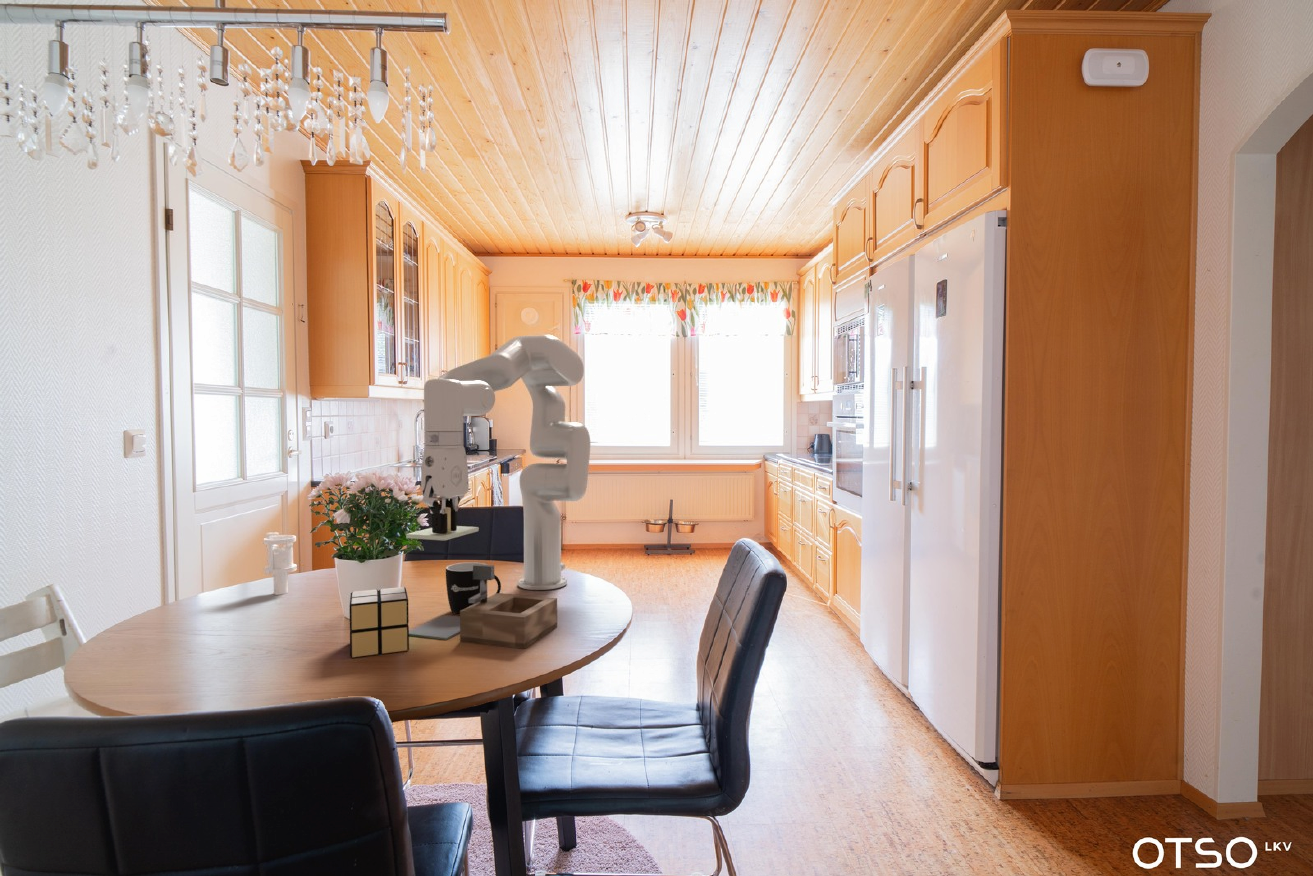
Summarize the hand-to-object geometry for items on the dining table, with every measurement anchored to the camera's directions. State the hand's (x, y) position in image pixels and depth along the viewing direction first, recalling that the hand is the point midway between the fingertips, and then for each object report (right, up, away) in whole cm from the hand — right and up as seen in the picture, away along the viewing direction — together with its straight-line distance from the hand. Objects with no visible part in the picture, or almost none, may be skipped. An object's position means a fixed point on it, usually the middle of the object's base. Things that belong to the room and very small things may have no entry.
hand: (444, 531), depth 136 cm
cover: (-1, -1, +3) cm, 3 cm away
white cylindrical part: (-50, -20, +31) cm, 62 cm away
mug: (+2, -20, +16) cm, 26 cm away
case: (+13, -21, 0) cm, 25 cm away
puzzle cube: (-10, -21, -8) cm, 25 cm away
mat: (-1, -21, +4) cm, 21 cm away
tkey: (+7, -15, -1) cm, 16 cm away
